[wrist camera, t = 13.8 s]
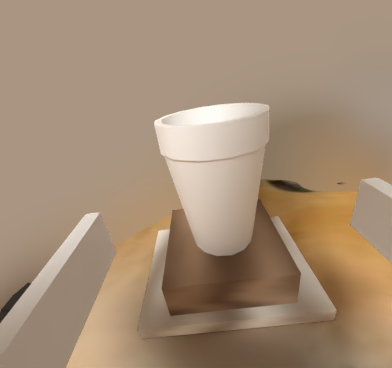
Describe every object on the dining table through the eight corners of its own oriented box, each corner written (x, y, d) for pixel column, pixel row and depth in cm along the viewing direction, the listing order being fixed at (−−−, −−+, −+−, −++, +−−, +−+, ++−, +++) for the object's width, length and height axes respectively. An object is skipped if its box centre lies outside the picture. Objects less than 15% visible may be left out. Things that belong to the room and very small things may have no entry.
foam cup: (194, 208, 29) (177, 109, 23) (265, 211, 26) (267, 99, 20) (168, 263, 21) (131, 132, 15) (267, 276, 18) (271, 120, 12)
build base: (277, 224, 31) (279, 192, 29) (334, 320, 19) (345, 279, 17) (160, 238, 32) (152, 209, 30) (141, 338, 20) (124, 303, 17)
